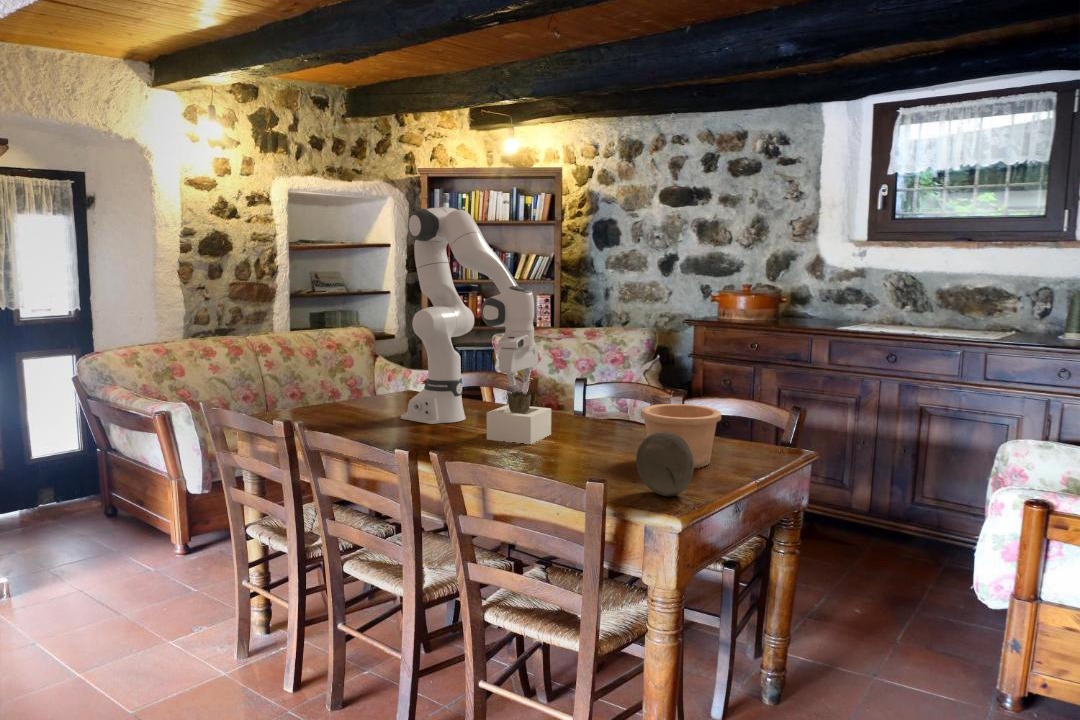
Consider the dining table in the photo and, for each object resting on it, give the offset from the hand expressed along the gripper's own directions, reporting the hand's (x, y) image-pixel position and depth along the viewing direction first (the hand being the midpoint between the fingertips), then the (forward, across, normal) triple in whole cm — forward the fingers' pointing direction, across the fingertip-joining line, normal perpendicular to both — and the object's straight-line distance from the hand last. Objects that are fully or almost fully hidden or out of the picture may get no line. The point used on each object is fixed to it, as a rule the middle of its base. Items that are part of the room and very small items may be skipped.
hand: (519, 384), depth 255 cm
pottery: (+17, +7, +53) cm, 56 cm away
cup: (+11, 0, 0) cm, 11 cm away
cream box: (+17, 0, 0) cm, 17 cm away
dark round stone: (+16, +39, +58) cm, 72 cm away
